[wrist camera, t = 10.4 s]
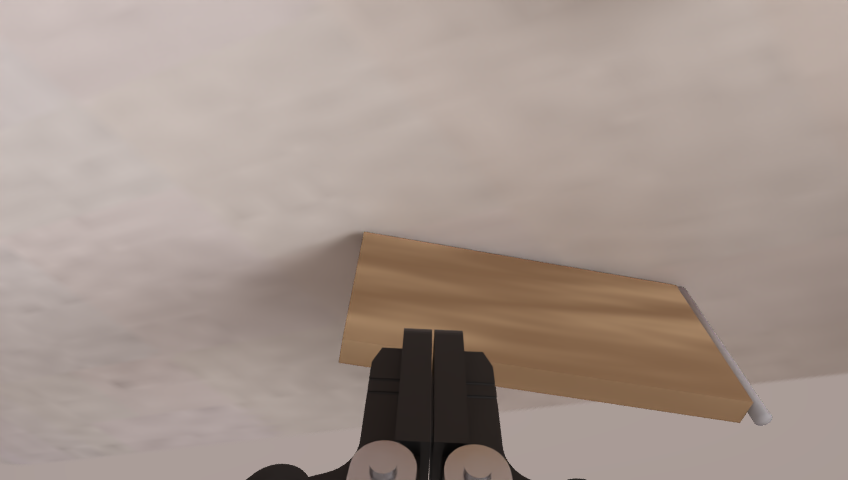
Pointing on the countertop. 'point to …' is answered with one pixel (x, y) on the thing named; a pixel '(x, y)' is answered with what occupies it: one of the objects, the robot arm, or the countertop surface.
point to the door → (544, 326)
